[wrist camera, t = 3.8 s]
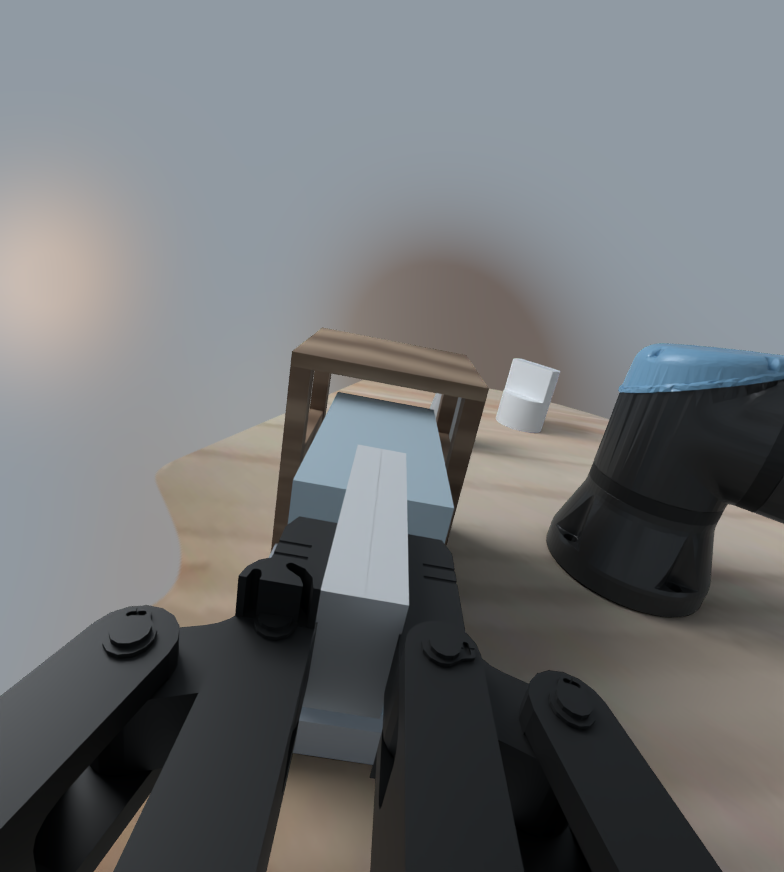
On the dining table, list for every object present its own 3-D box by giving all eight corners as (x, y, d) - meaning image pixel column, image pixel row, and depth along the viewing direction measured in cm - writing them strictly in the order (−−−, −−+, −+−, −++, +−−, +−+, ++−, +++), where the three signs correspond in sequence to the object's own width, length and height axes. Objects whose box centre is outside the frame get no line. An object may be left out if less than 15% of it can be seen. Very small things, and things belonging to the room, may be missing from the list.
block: (397, 716, 24) (454, 508, 19) (267, 697, 24) (293, 479, 19) (399, 557, 37) (433, 409, 32) (315, 542, 37) (337, 391, 32)
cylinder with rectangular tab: (486, 418, 88) (503, 358, 84) (511, 413, 94) (527, 358, 90) (526, 435, 83) (546, 372, 78) (549, 429, 89) (569, 371, 84)
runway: (442, 775, 24) (452, 743, 23) (199, 738, 23) (201, 705, 23) (422, 518, 48) (427, 498, 47) (303, 497, 48) (305, 476, 47)
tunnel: (432, 595, 37) (488, 388, 31) (269, 568, 37) (292, 351, 30) (425, 518, 48) (466, 355, 42) (300, 496, 48) (322, 327, 41)
